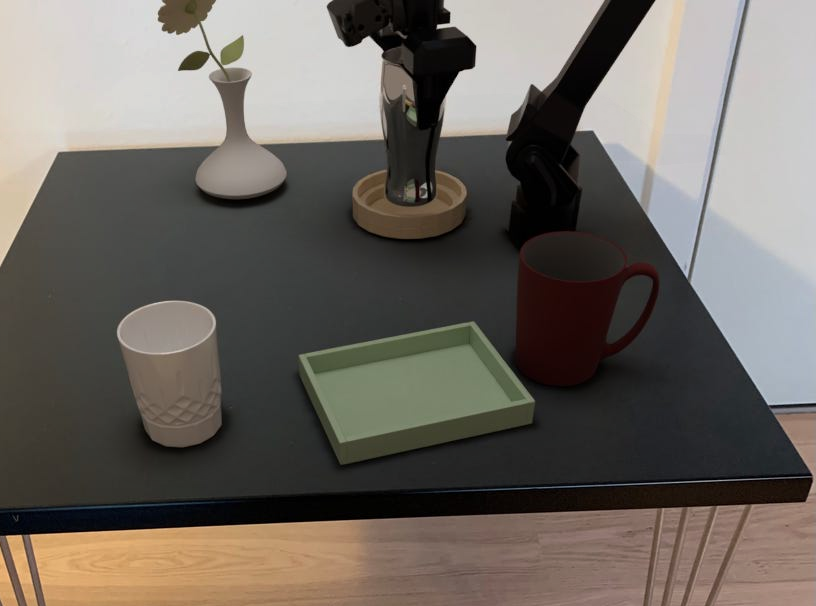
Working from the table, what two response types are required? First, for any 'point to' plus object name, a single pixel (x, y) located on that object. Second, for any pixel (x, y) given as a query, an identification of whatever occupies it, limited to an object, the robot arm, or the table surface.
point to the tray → (413, 391)
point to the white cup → (174, 370)
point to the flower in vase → (238, 154)
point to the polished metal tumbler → (406, 137)
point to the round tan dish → (409, 209)
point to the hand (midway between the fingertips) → (412, 117)
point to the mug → (571, 305)
